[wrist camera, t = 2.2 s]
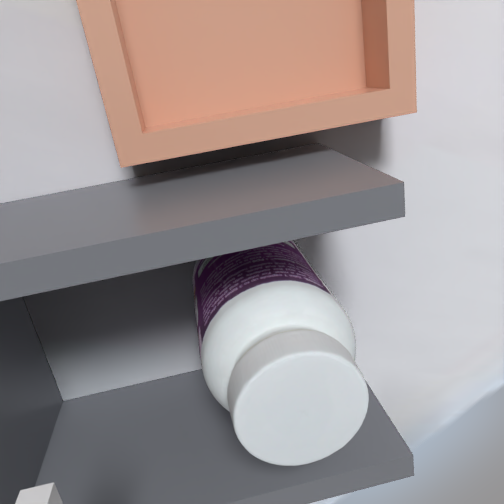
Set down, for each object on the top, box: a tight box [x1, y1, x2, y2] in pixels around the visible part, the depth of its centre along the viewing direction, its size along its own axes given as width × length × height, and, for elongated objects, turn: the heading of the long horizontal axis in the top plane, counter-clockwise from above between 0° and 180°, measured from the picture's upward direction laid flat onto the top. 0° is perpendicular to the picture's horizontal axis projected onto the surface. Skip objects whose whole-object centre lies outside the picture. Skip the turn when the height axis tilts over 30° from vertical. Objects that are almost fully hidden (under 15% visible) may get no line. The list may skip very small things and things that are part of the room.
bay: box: [0, 143, 414, 504], centre depth 18 cm, size 15×11×8 cm
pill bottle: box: [193, 240, 369, 466], centre depth 17 cm, size 5×5×10 cm
